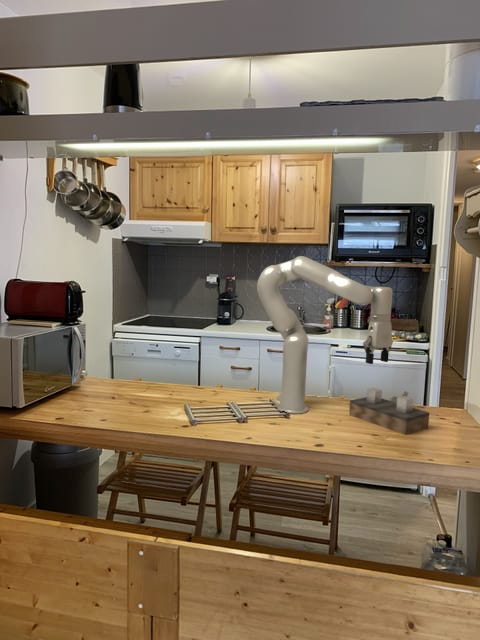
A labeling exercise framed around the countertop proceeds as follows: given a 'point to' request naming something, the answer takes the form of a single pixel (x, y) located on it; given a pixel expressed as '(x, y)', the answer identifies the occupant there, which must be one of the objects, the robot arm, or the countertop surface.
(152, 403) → the countertop surface
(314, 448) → the countertop surface
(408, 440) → the countertop surface
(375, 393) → the peg
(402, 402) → the peg
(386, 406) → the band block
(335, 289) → the robot arm
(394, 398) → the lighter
